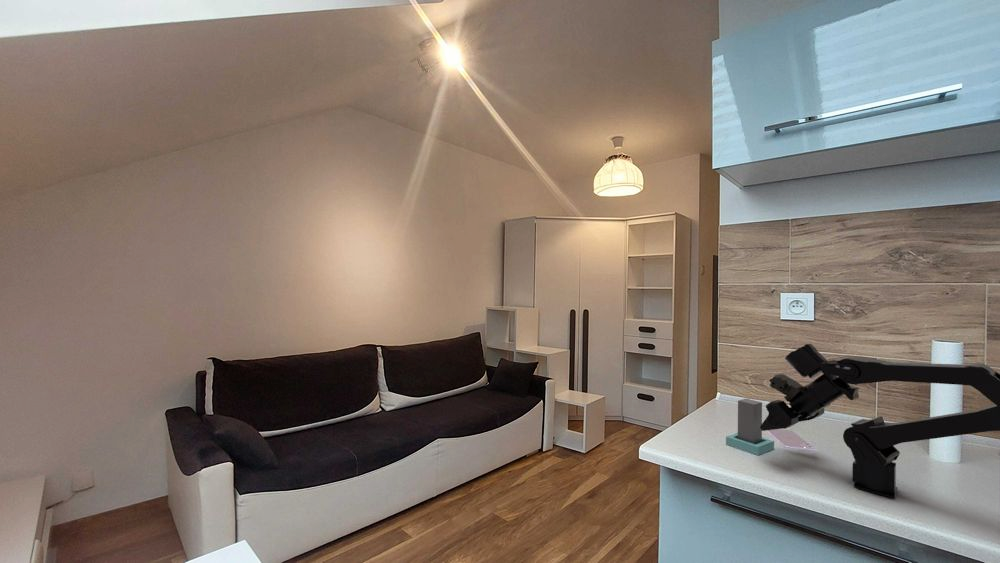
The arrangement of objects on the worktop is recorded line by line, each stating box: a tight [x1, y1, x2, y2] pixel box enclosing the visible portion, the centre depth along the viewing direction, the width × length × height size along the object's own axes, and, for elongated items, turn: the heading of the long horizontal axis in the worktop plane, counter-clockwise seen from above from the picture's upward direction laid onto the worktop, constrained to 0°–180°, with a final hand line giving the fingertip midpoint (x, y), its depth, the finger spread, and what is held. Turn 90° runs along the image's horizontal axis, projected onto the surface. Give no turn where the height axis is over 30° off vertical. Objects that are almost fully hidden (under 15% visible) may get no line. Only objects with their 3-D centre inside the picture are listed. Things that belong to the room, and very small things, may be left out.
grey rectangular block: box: [737, 398, 763, 445], centre depth 112 cm, size 4×4×12 cm
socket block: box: [725, 432, 775, 456], centre depth 112 cm, size 8×8×2 cm
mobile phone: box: [765, 429, 816, 452], centre depth 118 cm, size 8×1×15 cm
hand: (770, 425), depth 108 cm, fingers open, 9 cm apart
